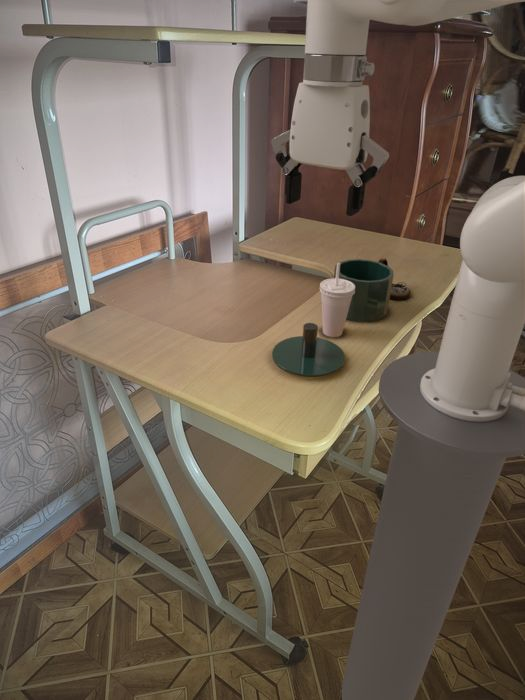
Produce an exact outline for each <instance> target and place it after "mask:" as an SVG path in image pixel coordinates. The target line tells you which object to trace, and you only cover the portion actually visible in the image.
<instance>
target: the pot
mask: <svg viewBox="0 0 525 700" xmlns="http://www.w3.org/2000/svg"><path fill="white" fill-rule="evenodd" d="M339 263H340V272H339V279H344V280H348V281H350V282H352V283H353V284H354V285H355V293H354V295H352V299H351V303H350V306H349V310H348V314H347V318H346V320H348V321H353V322H362V323H366V322H368V323H369V322H375V321H379V320H381V319H383V318H384V317H385V316H387V313H388V310H389V304H390V299H391V298H390V293H391V288H392V284H393V281H394V270H393V269H392V267H390V266H389V265H388V266H387V265H384V264H382V263H380V262H378V261H375V260H371V259H361V258H358V259H357V258H356V259H355V258H354V259H346V260H343V261H339ZM336 270H337V264H335V265H334V273H333V278H336Z"/></svg>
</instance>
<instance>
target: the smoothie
mask: <svg viewBox="0 0 525 700" xmlns="http://www.w3.org/2000/svg"><path fill="white" fill-rule="evenodd" d="M336 265H337V270H336V278H334V277H332V278H326V279H324V280H322V281H320V283H319V291H320V297H321V298H320V300H321V319H322V321H321V323H322V324H321V325H322V333H323V335H325V336H327V337H329V338H338V337H341V336H342V335H343V332H344V328H345V325H346V321H347V319H346V318H347V314H348V310H349V306H350V303H351V299H352V295H354V293H355V285H354V284H353V283H352V282H350V281H348V280H344V279H339V272H340V262H337V264H336Z"/></svg>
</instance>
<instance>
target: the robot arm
mask: <svg viewBox="0 0 525 700" xmlns="http://www.w3.org/2000/svg"><path fill="white" fill-rule="evenodd" d="M524 2H525V0H307V4H306V21H305V23H306V24H305V38H304V39H305V43H304V58H303V59H304V60H303V62H304V63H303V64H304V65H303V76H302V77H303V79H302V82H299V83H298V86H297V90H296V94H295V98H294V103H293V109H292V115H291V122H290V129H289V130H287V131H285V132H282V133H281V134H279V135H277V136H275V137H274V138H272V139H271V140H270V144H271V146H272V149H273V153H274V154H275V161H276V162H277V163H278V165H279V166H280V168H281V171H282V174H283V175H285V182H284V195H285V203H286V204H288V205H291V204H294V203H295V202H298V201H299V200H301V196H302V181H303V180H302V179H303V174H302V172H301V171H299V170H300V169H301V168H302V167H303V165H308V166H313V167H319V168H325V169H326V168H327V169H333V170H342V171H345V172H346V173H347V175H348V177H349V178H350V180H351V182H352V185H350V186H349V187H348V192H347V200H346V201H347V202H346V210H345V215H346V216H348V217H352V216H354V215H356V214H358V213H359V212H360V210H361V209H362V208H363V206H364V200H365V192H366V184H368V183H369V182H370V181H372V179H374V178H375V177H376V176H377V175H378V174H380V172H381V170H382V169H383V167H384V166H385V165H386V163H387V161H388V159H389V158H390V152H388V151H387V150H386V149H384V148H383V147H382V146H381V145H380V144H378V143H377V142H376V141H374V140H373V139H372V138H370V130H371V129H370V125H371V101H370V100H371V99H370V97H371V96H370V87H369V85H368V84H367V85H366V84H363V82H364V81H365V79H366V78H365V77H367V76H373V75H374V73H375V62H369V61H368V60H367V59H368V56H366V54H367V47H368V36H369V29H370V21H374V22H375V21H376V22H381V23H384V24H391V25H400V26H402V25H403V26H408V27H409V26H410V27H418V26H424V25H429V24H433V23H434V24H435V23H439V22H441V21H447V20H450V19H454V18H459V17H463V16H467V15H472V14H476V13H480V12H483V11H488V10H491V9H495V8H499V7H502V6H503V7H504V6H507V5H511V4H516V3H524ZM287 143H289V148H288V149H289V152H287V151H286V150H287V149H286V144H287ZM368 154H369V156H371V157H372V162H371V164H370V166H369V167H368V168H367V169H366V168H365V165H363V164H365V163H366V161H367V160H368V159H367V158H368ZM459 248H460V254H461V258H462V261H461V265H460V267H459V272H458V276H457V279H456V284H455V287H454V291H453V295H452V298H451V303H450V307H449V311H448V315H447V319H446V322H445V327H444V331H443V335H442V339H441V343H440V347H439V355H438V359H437V363H436V367H435V369H432V370H430V371H428V372H427V373H425V374H424V375H423V377H422V379H421V383H420V391H421V394H422V396H423V397H424V399H425V400H426V401H427V402H428V403H429V404H430V405H431V406H433V407H434V408H435V409H437V410H439V411H440V412H442V413H444V414H446V415H449V416H451V417H454V418H457V419H461V420H466V421H474V422H485V421H491V420H495V419H498V418H500V417H502V416H503V415H504V414H505V413H506V412H507V410H508V407H509V405H510V406H513V407H516V408H518V409H520V410H523V411H525V389H524V388H521V387H520V388H519V387H516V386H513V385H512V383H510V382H508V380H509V377H510V374H511V373H509V372H508V371H509V369H510V367H511V365H512V361H513V359H514V356H515V353H516V351H517V348H518V344H519V341H520V338H521V336H522V332H523V330H524V327H525V175H514V176H509V177H507V178H504V179H502V180H500V181H498V182H496V183H495V184H493V185H491V186H490V187H489V188H487V190H486V191H484V193H483V194H482V195H481V196H480V198H479V199H478V200H477V202H476V203H475V205H474V207H473V208H472V210H471V212H470V214H469V215H468V216H467V218H466V221H465V222H464V225H463V226H462V229H461V233H460V238H459Z"/></svg>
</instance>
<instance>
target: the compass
mask: <svg viewBox="0 0 525 700" xmlns="http://www.w3.org/2000/svg"><path fill="white" fill-rule="evenodd" d="M377 262H380V263H382V264H384V265H387V266H389V263H388V260H387V258H380V259H378V261H377ZM411 292H412V291H411V290H410V289H409V288H408V287H407V283H406V282H403V281H399V282H397V283H392V288H391V293H390V299H392V300H405V299H408V298H410V297H411Z"/></svg>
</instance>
